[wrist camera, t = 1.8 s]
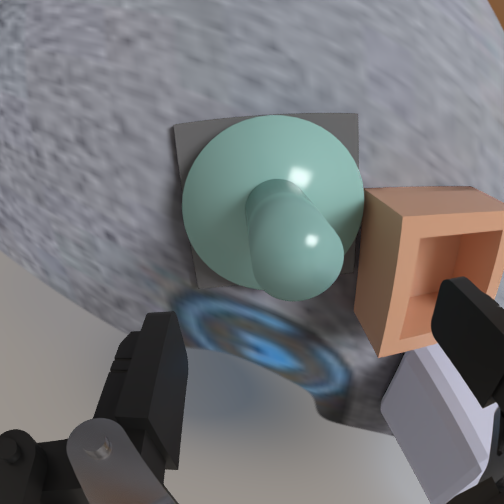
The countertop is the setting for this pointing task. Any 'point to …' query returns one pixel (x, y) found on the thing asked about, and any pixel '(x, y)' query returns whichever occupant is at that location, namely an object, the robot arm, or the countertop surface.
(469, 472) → the soap bottle
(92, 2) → the countertop surface
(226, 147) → the lid
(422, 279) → the dish
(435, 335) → the robot arm
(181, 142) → the mat
